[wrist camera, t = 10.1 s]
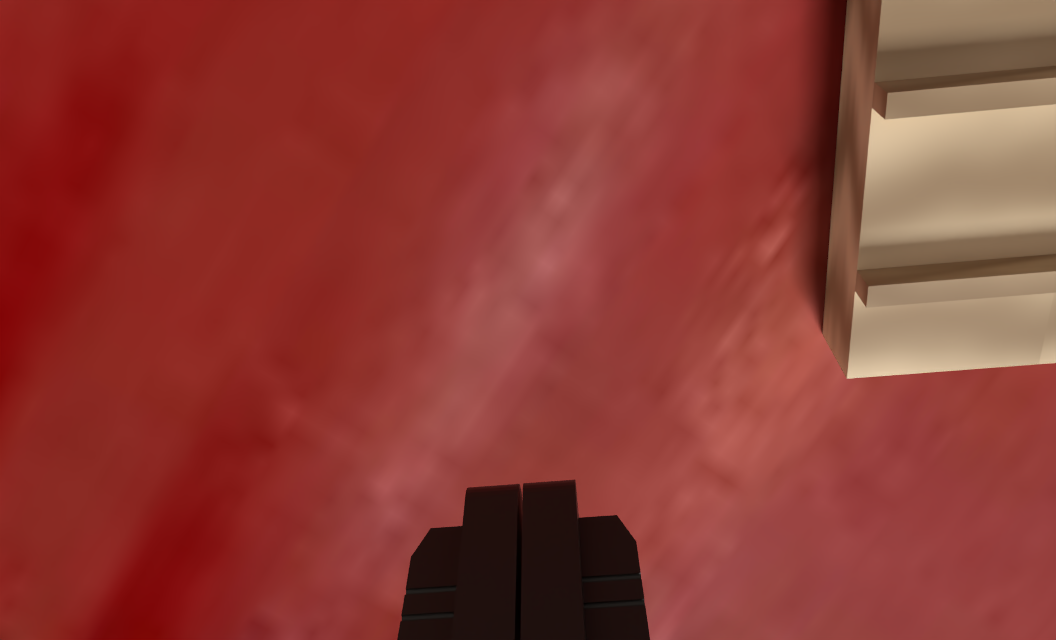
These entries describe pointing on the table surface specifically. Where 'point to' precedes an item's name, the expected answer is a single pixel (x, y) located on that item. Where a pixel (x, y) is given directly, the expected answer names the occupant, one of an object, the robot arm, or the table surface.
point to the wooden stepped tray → (944, 188)
